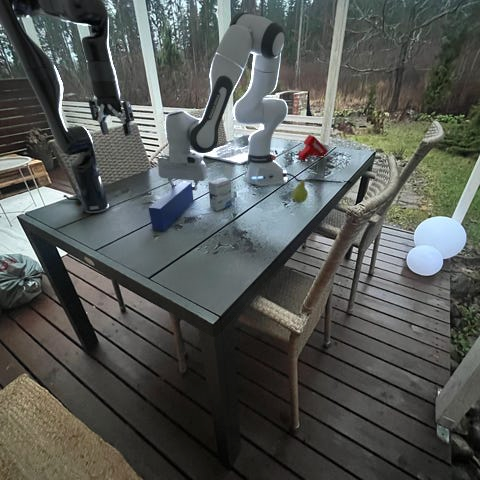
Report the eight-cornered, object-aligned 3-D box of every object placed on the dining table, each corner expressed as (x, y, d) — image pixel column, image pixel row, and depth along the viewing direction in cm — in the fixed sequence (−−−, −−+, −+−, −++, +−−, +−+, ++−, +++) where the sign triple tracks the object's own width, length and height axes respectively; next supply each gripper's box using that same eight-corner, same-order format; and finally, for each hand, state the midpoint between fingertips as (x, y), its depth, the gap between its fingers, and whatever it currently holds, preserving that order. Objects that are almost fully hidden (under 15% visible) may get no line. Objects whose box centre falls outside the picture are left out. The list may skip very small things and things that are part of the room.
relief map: (240, 164, 168) (240, 156, 165) (199, 155, 186) (198, 147, 183) (263, 154, 186) (264, 146, 184) (224, 147, 204) (224, 140, 201)
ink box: (224, 201, 122) (223, 176, 116) (231, 205, 119) (231, 179, 113) (209, 207, 117) (207, 181, 111) (217, 211, 114) (215, 184, 108)
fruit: (288, 200, 123) (290, 174, 116) (302, 197, 125) (305, 172, 119) (296, 206, 118) (299, 179, 111) (310, 203, 120) (314, 177, 114)
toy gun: (299, 156, 169) (313, 135, 166) (294, 155, 172) (308, 134, 169) (314, 170, 180) (328, 150, 177) (310, 169, 183) (323, 149, 180)
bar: (184, 200, 124) (181, 181, 119) (193, 201, 123) (191, 182, 118) (152, 229, 102) (148, 207, 97) (164, 231, 101) (160, 208, 96)
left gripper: (75, 79, 81) (91, 136, 90) (115, 79, 78) (128, 138, 87) (92, 78, 87) (106, 131, 96) (131, 78, 84) (141, 133, 93)
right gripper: (152, 156, 107) (158, 189, 114) (201, 159, 103) (204, 193, 110) (160, 152, 112) (165, 184, 120) (207, 155, 108) (209, 188, 115)
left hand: (117, 134), depth 92 cm, fingers open, 8 cm apart
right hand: (184, 189), depth 115 cm, fingers open, 8 cm apart
